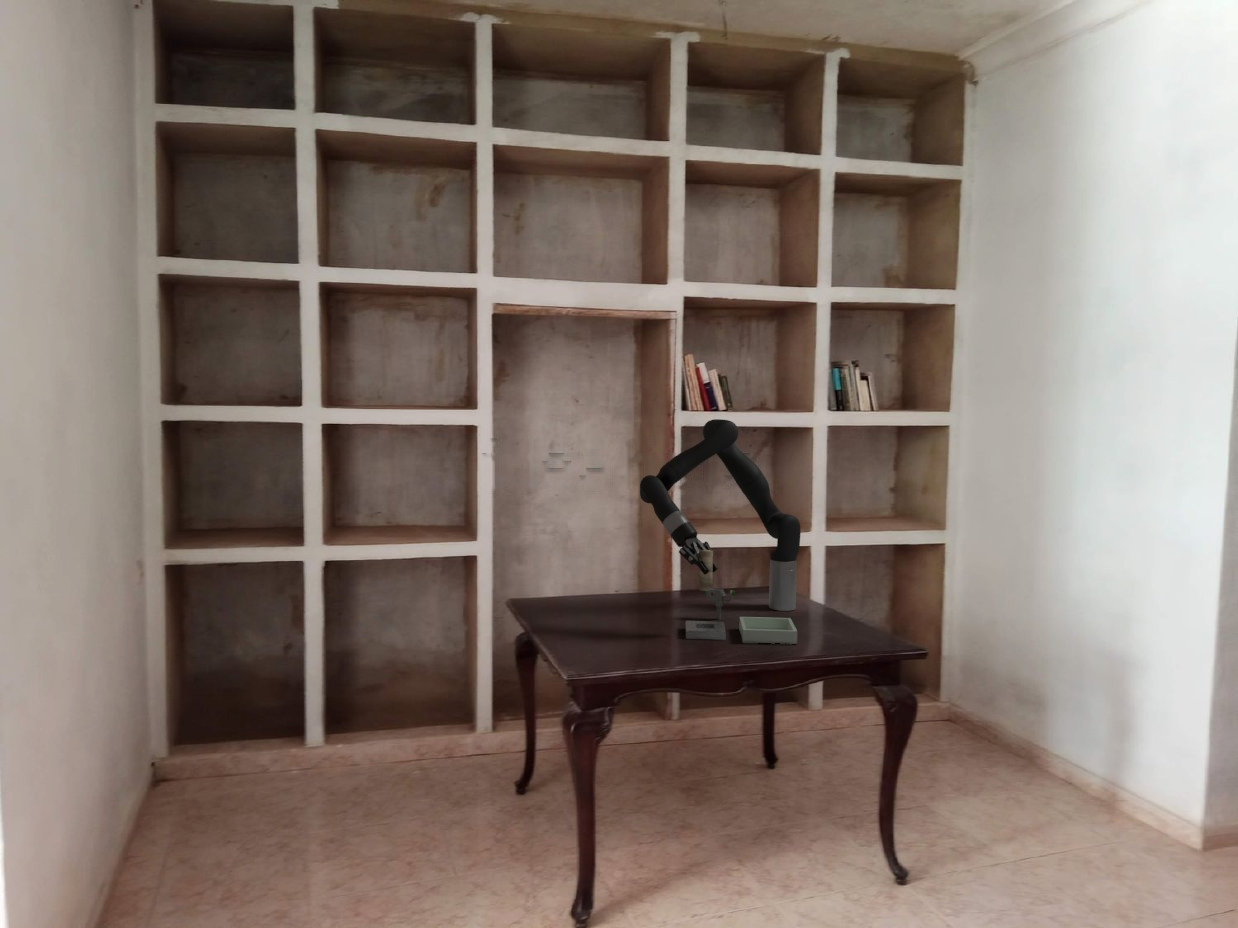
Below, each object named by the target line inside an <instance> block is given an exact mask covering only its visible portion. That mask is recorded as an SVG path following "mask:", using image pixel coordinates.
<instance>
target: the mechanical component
mask: <svg viewBox="0 0 1238 928" xmlns="http://www.w3.org/2000/svg"><path fill="white" fill-rule="evenodd" d="M702 593H703V595H705V599H706V601H709V602H714V603H715V604H714V605H715V608H716V612H715V613H716V615H715V616H716V620H717V619H720V620H721V619H722V607H724V605H723V603H730V602H732V600H733V597H735V594H736V591H735V590H733V589H731V590H729V592H728V593H726V592H725V591H724V589H723V588H713V587H712V590H711V591H703V592H702ZM712 593H713V595H712ZM724 597H725V598H724ZM726 597H727V598H726Z"/></svg>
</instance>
